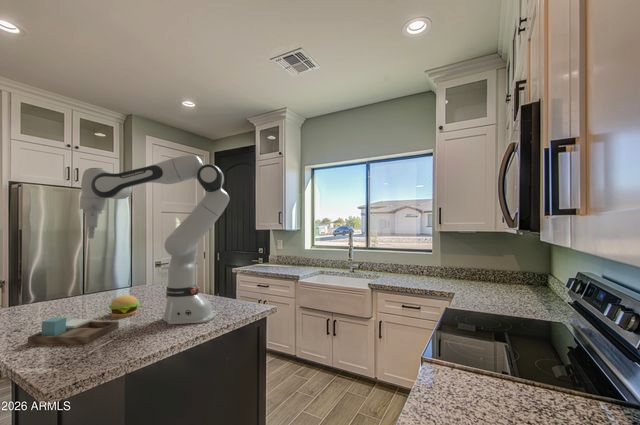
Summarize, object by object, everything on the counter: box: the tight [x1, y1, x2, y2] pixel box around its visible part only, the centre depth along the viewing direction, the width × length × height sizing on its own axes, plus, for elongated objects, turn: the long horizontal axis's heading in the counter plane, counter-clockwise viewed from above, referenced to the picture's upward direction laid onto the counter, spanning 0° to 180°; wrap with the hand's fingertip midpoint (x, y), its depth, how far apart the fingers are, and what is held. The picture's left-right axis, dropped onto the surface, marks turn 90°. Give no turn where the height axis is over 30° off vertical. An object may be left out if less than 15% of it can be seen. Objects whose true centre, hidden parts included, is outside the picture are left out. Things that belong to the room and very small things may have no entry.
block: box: [41, 316, 66, 336], centre depth 103 cm, size 4×4×7 cm
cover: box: [63, 314, 91, 328], centre depth 110 cm, size 8×8×3 cm
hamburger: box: [108, 294, 141, 318], centre depth 135 cm, size 12×12×9 cm
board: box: [27, 320, 120, 346], centre depth 107 cm, size 20×16×4 cm
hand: (90, 237), depth 124 cm, fingers open, 8 cm apart
